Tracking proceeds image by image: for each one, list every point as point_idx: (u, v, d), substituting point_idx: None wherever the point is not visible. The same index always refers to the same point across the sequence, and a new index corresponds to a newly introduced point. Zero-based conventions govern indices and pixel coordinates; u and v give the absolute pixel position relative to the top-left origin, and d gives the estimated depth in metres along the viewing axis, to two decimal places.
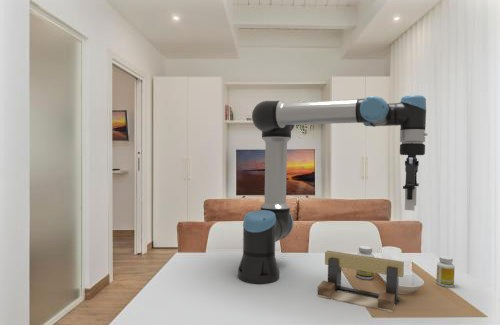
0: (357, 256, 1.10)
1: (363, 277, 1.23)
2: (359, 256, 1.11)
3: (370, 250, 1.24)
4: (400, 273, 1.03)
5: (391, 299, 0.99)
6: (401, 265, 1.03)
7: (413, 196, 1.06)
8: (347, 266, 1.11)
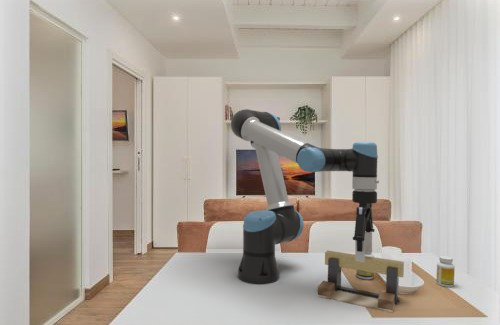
0: None
1: (363, 277, 1.23)
2: None
3: None
4: (400, 273, 1.03)
5: (391, 299, 0.99)
6: (401, 265, 1.03)
7: (363, 247, 1.03)
8: (347, 266, 1.11)
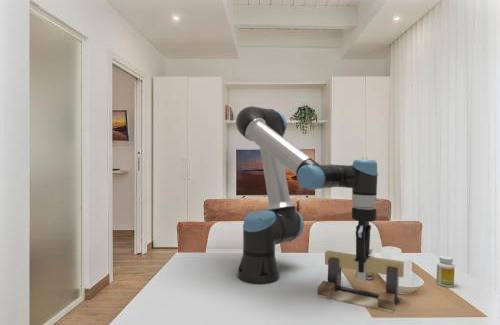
0: None
1: None
2: None
3: (370, 250, 1.24)
4: (400, 273, 1.03)
5: (391, 299, 0.99)
6: (401, 265, 1.03)
7: (364, 269, 1.08)
8: (347, 266, 1.11)
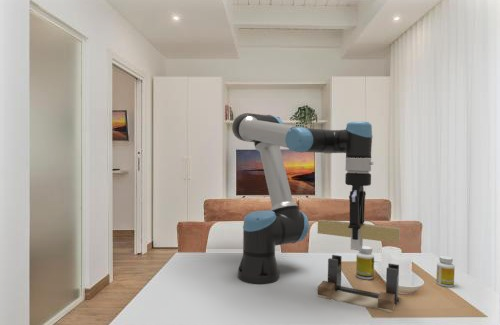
0: None
1: (363, 277, 1.23)
2: None
3: (370, 250, 1.24)
4: (396, 239, 0.98)
5: (391, 299, 0.99)
6: (397, 230, 0.98)
7: (358, 236, 1.03)
8: (341, 234, 1.06)
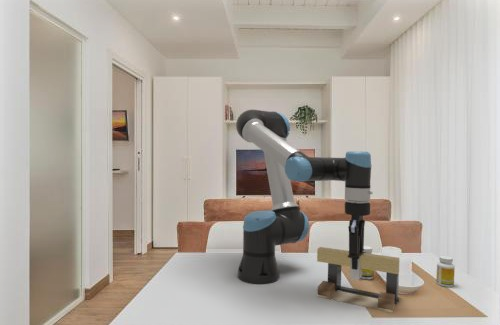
0: None
1: (363, 277, 1.23)
2: None
3: (370, 250, 1.24)
4: (395, 270, 0.98)
5: (391, 299, 0.99)
6: (396, 261, 0.98)
7: (358, 265, 1.03)
8: (340, 263, 1.06)
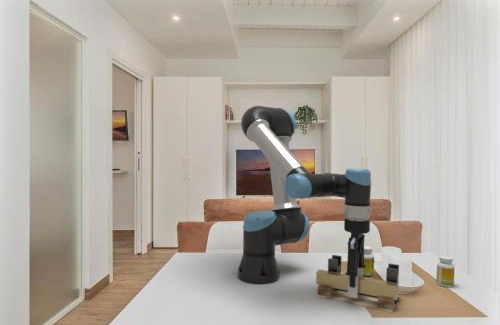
0: None
1: None
2: None
3: (370, 250, 1.24)
4: (394, 296, 0.99)
5: (391, 299, 0.99)
6: (395, 287, 0.99)
7: (356, 283, 1.01)
8: (339, 287, 1.06)
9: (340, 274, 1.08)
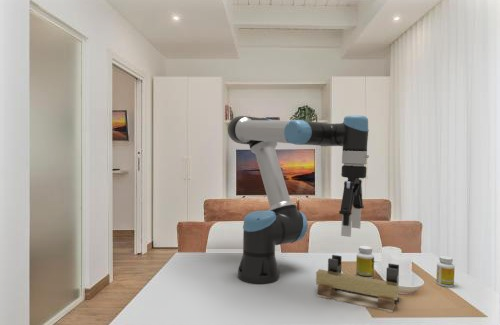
0: (350, 276, 1.06)
1: None
2: (352, 276, 1.06)
3: (370, 250, 1.24)
4: (394, 296, 0.99)
5: (391, 299, 0.99)
6: (395, 287, 0.99)
7: (349, 222, 1.01)
8: (339, 287, 1.06)
9: (340, 274, 1.08)
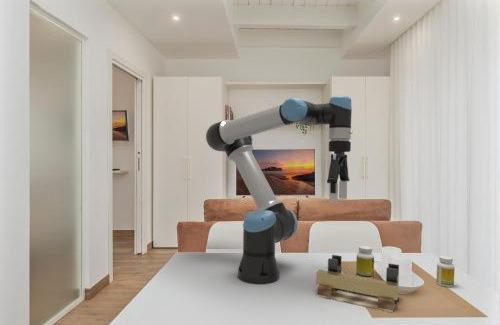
0: (350, 276, 1.06)
1: None
2: (352, 276, 1.06)
3: (370, 250, 1.24)
4: (394, 296, 0.99)
5: (391, 299, 0.99)
6: (395, 287, 0.99)
7: (336, 190, 1.14)
8: (339, 287, 1.06)
9: (340, 274, 1.08)
